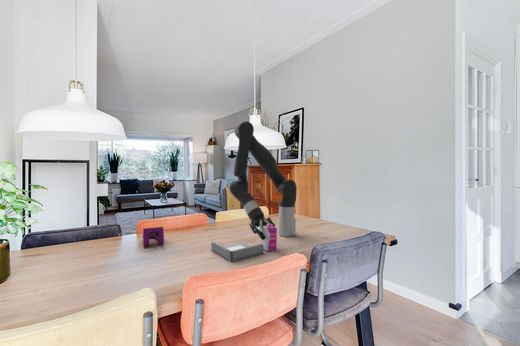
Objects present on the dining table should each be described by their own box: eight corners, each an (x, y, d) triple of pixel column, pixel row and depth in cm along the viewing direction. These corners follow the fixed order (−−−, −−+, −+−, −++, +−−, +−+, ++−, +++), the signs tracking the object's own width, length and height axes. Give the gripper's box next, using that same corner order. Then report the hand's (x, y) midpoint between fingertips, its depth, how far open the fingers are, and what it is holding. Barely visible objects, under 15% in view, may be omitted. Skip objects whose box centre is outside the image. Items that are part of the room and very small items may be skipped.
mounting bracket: (142, 251, 144) (143, 245, 130) (142, 235, 147) (143, 228, 132) (161, 248, 149) (164, 243, 134) (160, 233, 152) (163, 226, 137)
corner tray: (242, 244, 139) (242, 235, 139) (263, 253, 125) (263, 244, 124) (211, 250, 128) (211, 241, 128) (230, 262, 114) (230, 252, 114)
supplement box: (266, 252, 127) (266, 228, 126) (261, 248, 132) (261, 225, 132) (276, 250, 129) (277, 227, 129) (271, 246, 135) (271, 224, 134)
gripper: (247, 208, 130) (264, 236, 123) (266, 205, 140) (283, 230, 133) (240, 217, 134) (256, 244, 127) (259, 213, 144) (275, 238, 137)
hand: (270, 237), depth 130 cm, fingers open, 8 cm apart
